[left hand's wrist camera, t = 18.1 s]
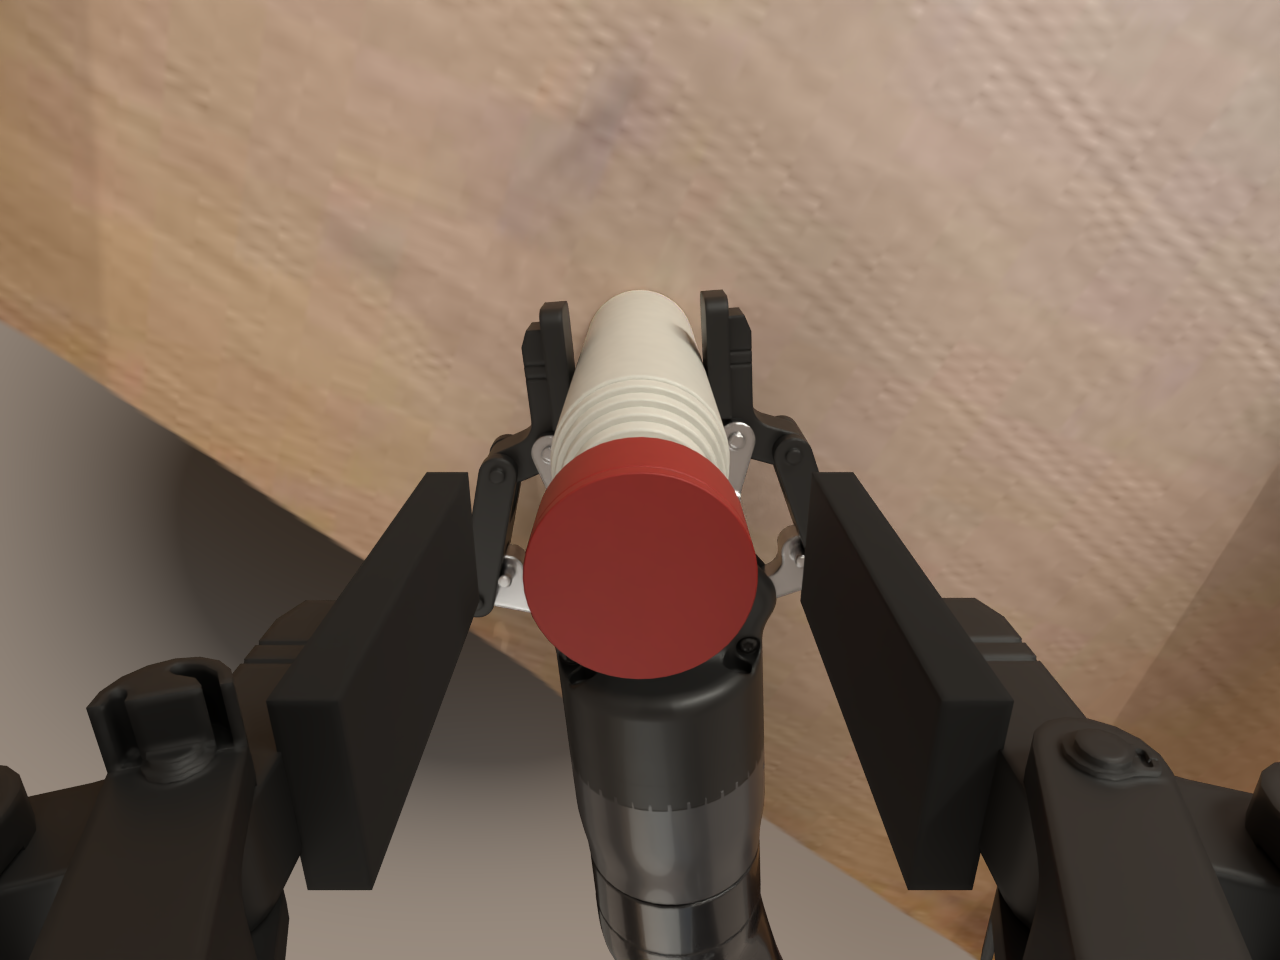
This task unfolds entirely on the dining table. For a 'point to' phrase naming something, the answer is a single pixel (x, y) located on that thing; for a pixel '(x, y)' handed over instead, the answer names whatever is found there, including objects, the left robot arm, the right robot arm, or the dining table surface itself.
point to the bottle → (640, 383)
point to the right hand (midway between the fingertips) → (632, 302)
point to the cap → (640, 560)
